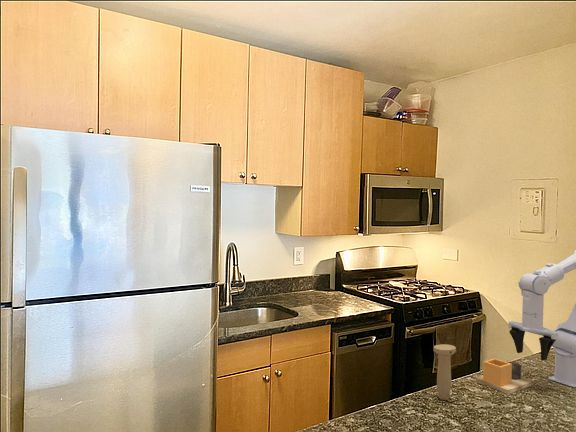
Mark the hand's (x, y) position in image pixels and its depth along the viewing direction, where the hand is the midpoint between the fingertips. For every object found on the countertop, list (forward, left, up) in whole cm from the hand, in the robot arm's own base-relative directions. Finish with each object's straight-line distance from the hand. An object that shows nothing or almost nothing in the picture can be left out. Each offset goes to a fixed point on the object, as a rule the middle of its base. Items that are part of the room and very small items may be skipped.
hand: (531, 356), depth 140 cm
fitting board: (+5, -6, -9) cm, 12 cm away
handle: (+31, -8, -10) cm, 33 cm away
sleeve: (+9, -6, -8) cm, 13 cm away
